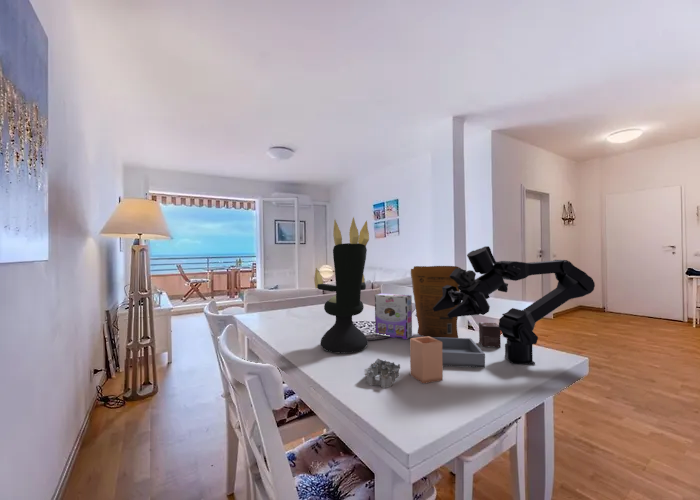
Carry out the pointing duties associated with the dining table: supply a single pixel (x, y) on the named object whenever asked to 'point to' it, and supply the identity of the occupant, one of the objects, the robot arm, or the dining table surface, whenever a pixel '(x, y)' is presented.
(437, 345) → the orange square container
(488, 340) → the box
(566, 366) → the dining table surface
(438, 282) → the pancake mix bag
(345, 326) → the candelabra
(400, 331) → the candy box
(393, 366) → the grey jagged ring
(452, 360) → the grey square tray
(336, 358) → the dining table surface
